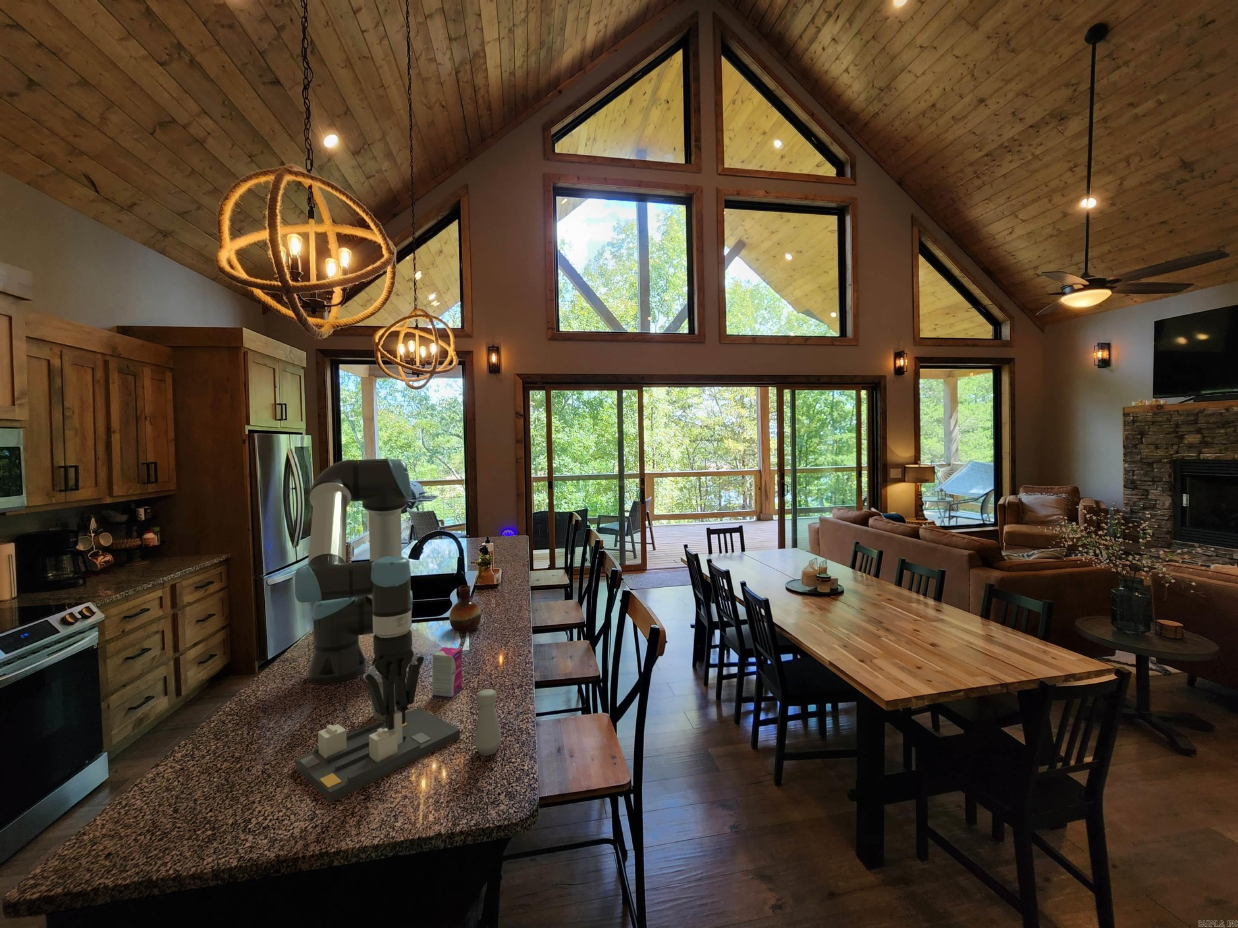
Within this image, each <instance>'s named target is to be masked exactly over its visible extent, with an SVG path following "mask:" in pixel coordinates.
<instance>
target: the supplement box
mask: <svg viewBox="0 0 1238 928" xmlns="http://www.w3.org/2000/svg"><path fill="white" fill-rule="evenodd" d="M462 661H463V649H462V648H457V647H454V648H453V647H448V646H447V647H445V646H443V647H442V648H440V649H439V650H437V651H436V652H435V653H433V654H432V697H433V698H439V699H440V698H441V699H453V698H454V696H455V695H457V694H458V693H460V691H462V690H463V686H462V685H463V673H462V672H463V667H462V665H463V663H462Z"/></svg>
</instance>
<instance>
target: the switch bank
mask: <svg viewBox="0 0 1238 928" xmlns="http://www.w3.org/2000/svg"><path fill="white" fill-rule="evenodd" d="M405 719H406V721H405V724H403V725H402V738H403V742H402V743H400V744H398V745H397V748H398V753H396V754H394V755H392V756H389V757H387V758H385V759H383V760H381V761H379V762H376V761H375V760H373V759H372V758H371V757H370V755H369V735H371V734H373V733H376V732H377V729H380V728H382V729H385V728H386V727H385V720H377V721H376V722H373V723H371V724H368V725H366V726H364V727H362V728H359V729H356V730H354V731H352V732H348V733H346V745H347V749H345V750H342V751H340V752H338V753H335V754H333V755H331V756H328V757H326V758H324V757H323V756H322V755H321V754H320V753H319V745H318V746H314V750H313V751H312V752H309V753H306V754H305V755H302V756H299V757H298V758H295V759H294V761H295V762H294V763H295V765H294V766H295V770H296V771H297V772H298V773H299V774H300V775H302V777H303V778H305V780H306V781H308V783H310V784H311V785H312V786H313V787H314V789H316V790H317V791H318V793H320V794H321V795H322V796H323V797H324V798H325V799H326V800H327V801H328V802H329V803H330V804H331V803H333V802H335V801H337V800H339V799H341V798H343V797H345V796H347V795H349V794H351V793H353V792H355V791H357V790H359V789H361V788H363V787H365V786H367V785H369V784H371V783H372V782H376V781H378V780H380V779H382V778H383V777H385V776H387V775H389V774H392V773H393V772H396V771H397V770H399V769H401V768H403V767H406V766H407V765H409V764H412V763H413V762H415V761H417V760H419V759H422V758H423V757H426V756H427V755H429V754H431V753H433V752H436V751H437V750H439V749H441V748H443V747H445V746H447V745H449V744H452V743H453V742H455V741H457V740H459V739H460V738H461V731H460V730H461V729H460V728H457V727H456V726H454V725H452V724H450V723H449V722H448V721H445V720H443V719H442V718H440V717H438V716H437V715H435V714H433V713H431V712H430V711H428V710H426V709H424V708H422V707H421V706H419V707H417V708H414V709H412V710H410V711H406V712H405Z"/></svg>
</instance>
